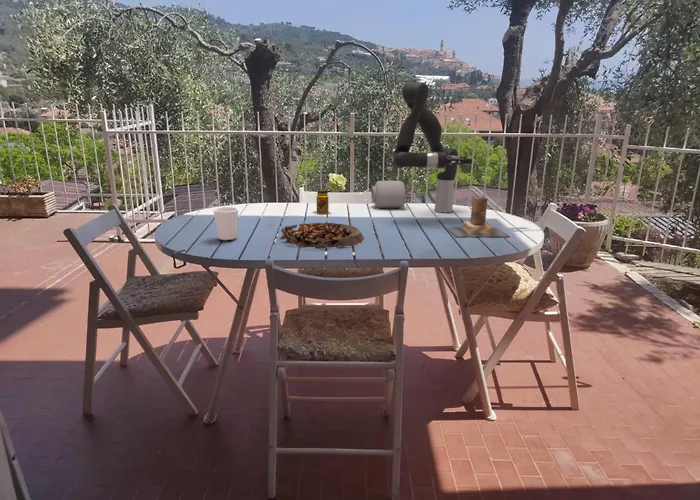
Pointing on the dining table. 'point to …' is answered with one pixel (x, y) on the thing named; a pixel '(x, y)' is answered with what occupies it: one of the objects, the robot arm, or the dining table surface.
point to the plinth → (476, 231)
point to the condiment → (322, 202)
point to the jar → (388, 194)
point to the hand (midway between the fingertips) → (468, 160)
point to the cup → (226, 223)
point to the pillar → (478, 211)
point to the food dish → (322, 235)
